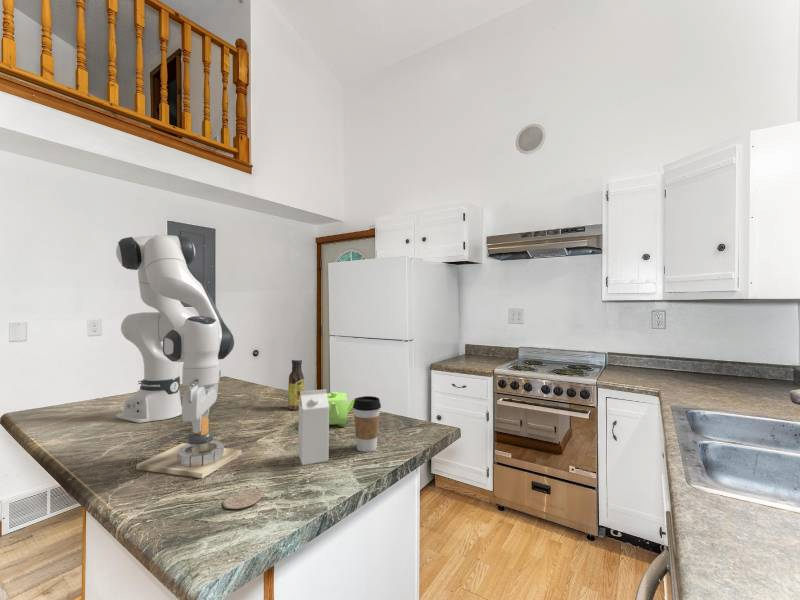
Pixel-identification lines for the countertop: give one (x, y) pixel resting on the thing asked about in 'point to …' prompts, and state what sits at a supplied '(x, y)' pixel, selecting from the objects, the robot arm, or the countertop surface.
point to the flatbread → (242, 499)
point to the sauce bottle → (295, 384)
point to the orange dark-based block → (201, 434)
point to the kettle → (338, 408)
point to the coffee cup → (366, 422)
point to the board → (169, 465)
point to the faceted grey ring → (192, 459)
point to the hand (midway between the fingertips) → (200, 428)
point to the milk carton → (313, 427)
